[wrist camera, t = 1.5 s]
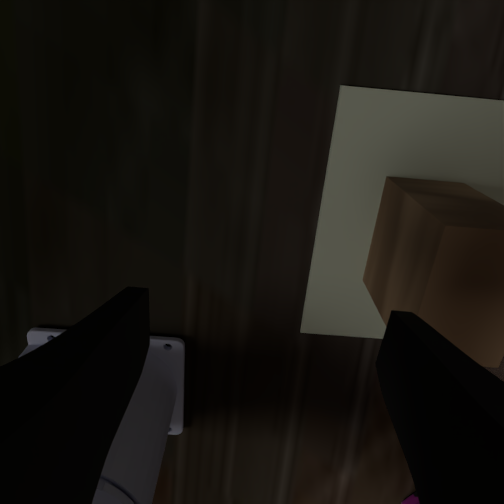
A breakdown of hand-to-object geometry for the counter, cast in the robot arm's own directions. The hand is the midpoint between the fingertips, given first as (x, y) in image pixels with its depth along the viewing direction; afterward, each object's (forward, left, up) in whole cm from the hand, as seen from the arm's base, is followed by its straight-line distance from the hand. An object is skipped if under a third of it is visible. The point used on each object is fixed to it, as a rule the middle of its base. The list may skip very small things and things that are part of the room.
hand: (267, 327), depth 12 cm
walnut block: (+8, 0, -10) cm, 13 cm away
